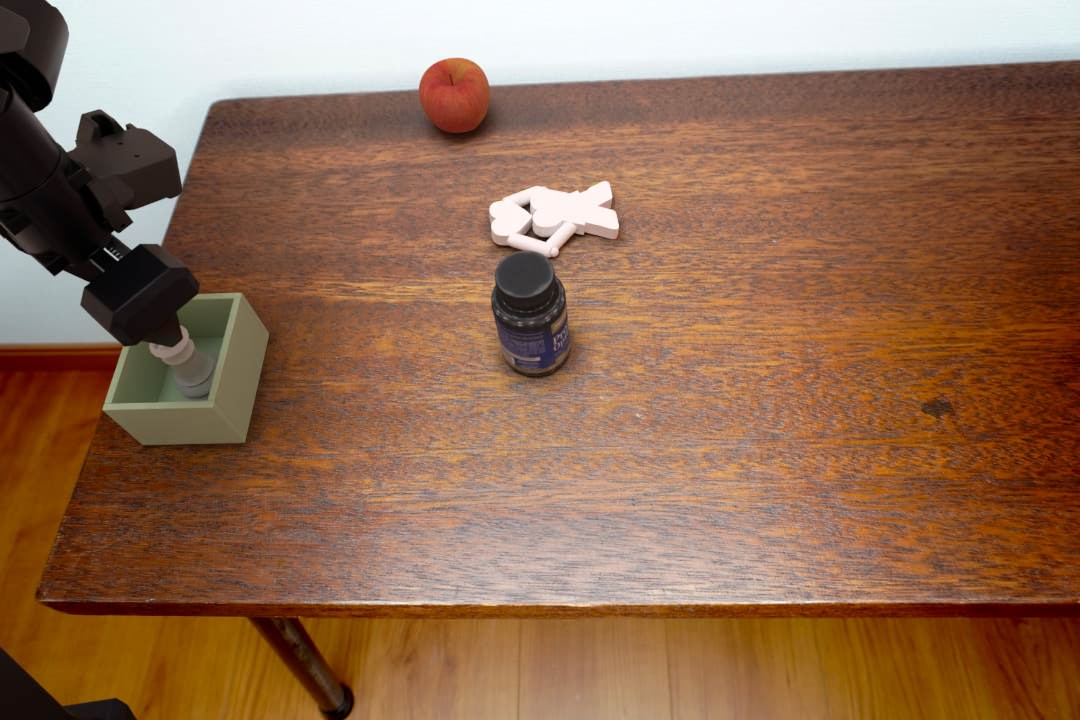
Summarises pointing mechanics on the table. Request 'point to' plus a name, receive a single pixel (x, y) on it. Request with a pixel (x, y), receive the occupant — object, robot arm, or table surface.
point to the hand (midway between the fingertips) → (141, 312)
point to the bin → (239, 345)
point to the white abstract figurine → (552, 217)
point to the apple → (455, 94)
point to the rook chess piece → (188, 367)
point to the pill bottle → (530, 314)
